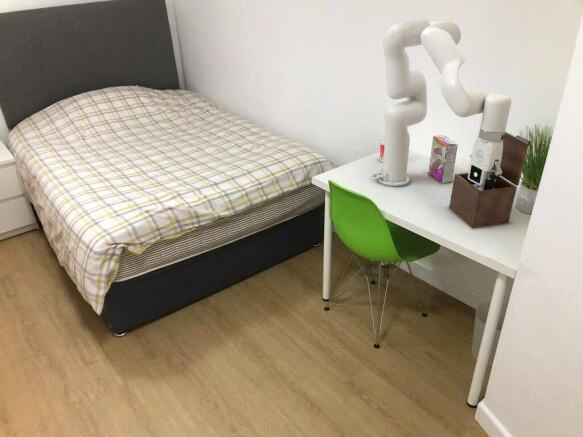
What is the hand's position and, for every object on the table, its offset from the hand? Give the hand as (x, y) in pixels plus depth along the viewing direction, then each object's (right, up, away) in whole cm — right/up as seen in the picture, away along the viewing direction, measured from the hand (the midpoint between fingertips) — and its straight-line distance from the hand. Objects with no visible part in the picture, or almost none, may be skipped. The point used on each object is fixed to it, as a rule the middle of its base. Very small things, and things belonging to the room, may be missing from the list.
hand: (481, 184), depth 157 cm
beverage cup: (-22, +14, +51) cm, 57 cm away
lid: (+7, +9, -3) cm, 12 cm away
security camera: (0, -2, +1) cm, 2 cm away
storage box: (+1, -10, +6) cm, 12 cm away
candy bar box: (-3, +5, +34) cm, 34 cm away
